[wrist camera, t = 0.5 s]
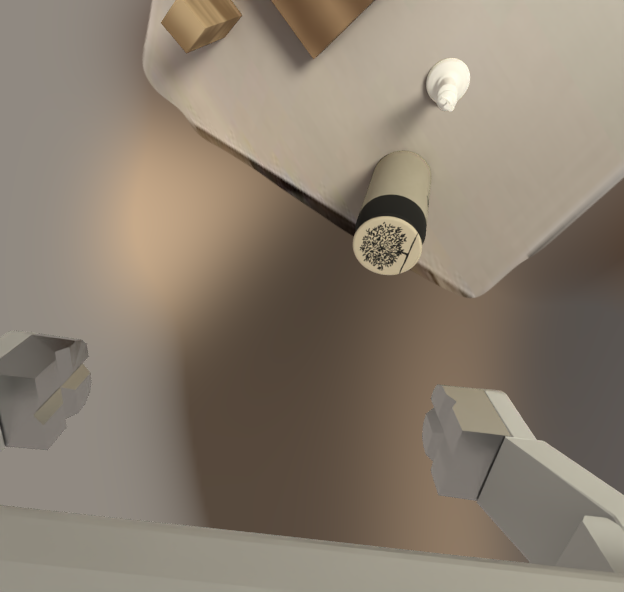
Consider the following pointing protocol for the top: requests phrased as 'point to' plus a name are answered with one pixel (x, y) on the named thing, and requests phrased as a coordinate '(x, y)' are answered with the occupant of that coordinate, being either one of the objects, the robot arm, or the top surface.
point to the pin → (200, 21)
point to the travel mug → (394, 214)
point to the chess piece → (447, 83)
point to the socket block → (319, 19)
